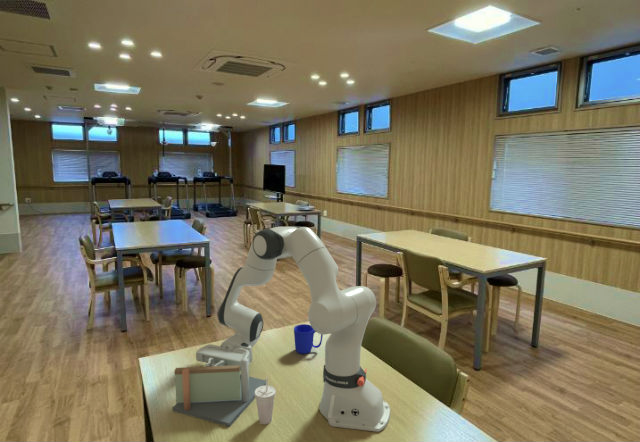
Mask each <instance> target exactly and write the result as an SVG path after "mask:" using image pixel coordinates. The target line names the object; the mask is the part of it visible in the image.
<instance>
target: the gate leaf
mask: <svg viewBox="0 0 640 442" xmlns="http://www.w3.org/2000/svg"><path fill="white" fill-rule="evenodd" d="M185 368H188V369H189V380H190V402H201V401H220V400H238V399H240V397H241V392H240V374H241V371H240V365H231V366H208V367H206V366H194V367H193V366H189V367H188V366H187V367H175V369H174V385H175V386H174V387H175V388H174V389H175V404H177V403H183V402H184V398H183V377H182V370H183V369H185Z"/></svg>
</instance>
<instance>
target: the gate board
mask: <svg viewBox="0 0 640 442" xmlns="http://www.w3.org/2000/svg"><path fill="white" fill-rule="evenodd" d="M249 365H250V364H249V363H248V358H243V359H241V371H240V392H241V397H240V399H238V400H220V401H201V402H190V380H189V369H188V368H186V367H184V368H185V369H183V370H182V377H183V398H184V402H183V403H175V404H174V405H173V406H172V411H173V412H176V413H180V414H182V415H186V416H190V417H193V418H197V419H200V420H204V421H208V422H211V423H213V424H218V425H220V426H225V427H228V428H230V427H231V426H232V425H233V424H234V423H235V422H236V420H238V418H240V416H241V414H243V412H244V411H246V409H247V408H248V406H249V405H251V403H252V402H253V401H254V400H256V398H255V396H254V394H255V390H256V389H257V388H258V387H260V386H264V385H266V379H262V378H258V377H252V376H250V375H249V367H250V366H249Z"/></svg>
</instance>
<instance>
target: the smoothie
mask: <svg viewBox="0 0 640 442" xmlns="http://www.w3.org/2000/svg"><path fill="white" fill-rule="evenodd" d="M265 380H266V385H264V386H260V387H258V388H257V389H256V390H255V394H254V396H255V401H256V406H257V407H256V408H257V413H258V421H259V423H260V424H261V425H268V424H270V423H271V422H272V419H273V410H274V404H275V397H276V396H277V395H276V392H277V391H276V390H277V389H276V388H275V387H274V386H272V385H269V381H268V377H265Z"/></svg>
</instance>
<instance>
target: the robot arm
mask: <svg viewBox="0 0 640 442" xmlns="http://www.w3.org/2000/svg"><path fill="white" fill-rule="evenodd" d="M291 257H292V258H293V260H294V262H295V263H296V265H297V267H298V269H299V270H300V272H301V275H302V276H303V277H304V280H305V282H306V283H307V286H308V288H309V291H310V292H309V293H310V298H311V300H310V305H309V309H308V312H307V313H308V314H307V317H308V322H309V325H311V327H312V328H313V329H314V330H315V331H316V332H315V333H317V334H319V335H321V334H322V335H323V336H324V335H329V336H328V337H327V340H326V341H325V347H324V351H325V352H324V353H325V354H324V365H323V371H322V372H323V373H322V378H323V379H322V380H323V388H322V389H323V390H322V396H321V399H320V402H319V406H318V407H319V408H318V409H319V412H320V413H321V415H322V416H323V417H324V418H326V420H327V423H328V425H329V426H331V427H334V428H344V429H352V430H361V431H368V432H370V431H371V432H381V431H383V430H385V428H386V427H387V425H388V423H389V421H390V417H391V407H390V405H389V404H388V402H387V401H384V397H383V395H382V394H383V393H382V391H381V390H380V389H379V387H377V386H375V385H374V384H373V383H372V382H371V381H369V379H367V370H368V369H367V368H364V369H363V368H362V367H361V353H362V352H361V350H362V343H363V339H364V336H365V335H364V334H365V333H366V329H367V326H368V323H369V321H370V318H371V316H372V314H373V313H374V311H375V310H376V307H377V299H376V295H375V293H374V292H373V291H372V289H370V288H369V287H367V286H363V285H359V286H358V285H355V286H350V287H347V288H344V289H341V290H340V288H339V286H338V283H337V277H338V275H339V272H340V271H339V265H338V264H337V263H336V261H335V260H334V258H333V256H332V255H331V253H330V252H329V250H328V249H327V247H326V245H325V243H324V242H323V241H322V240H321V238H320V237H319V236H318V235H317V233H315V232H314V230H312V229H311V228H310V227H307V226H300V225H299V226H298V225H292V226H283V225H282V226H275V227H271V228H264V229H261V230H259V231H257V232H256V233H255V234H254V236H253V238H252V242H251V245H250V247H249V249H248V253H247V257H246V260H245V263H244V265H243V266H241V267H239V268H237V270H236V272H235V273H234V274H233V276H232V279H231V281H230V283H229V286H228V288H227V291H226V292H225V295H224V299H223V301H222V302H221V304H220V306H219V308H218V310H217V314H216V316H217V319H218V322H219V324H221V325H223V326H225V327H229V328H231V329H233V330H236V332H235V333H234V334H233V335H231V336H229V337H228V338H226V340H224V341H222V343H221V344H220V345H215V344H211V343H210V344H209V343H208V344H205V346H202V347H200V348H198V349H197V350H196V351H195V359H196V362H201V363H205V367H208V366H231V365H240V372H241V359H243V358H248V363H249V365H250V363H252V362H253V347H254V346H256V344H257V342H258V341H259V340H260V338H261V333H262V331H263V328H264V324H265V323H264V319H263V315H262V313H260V312H258V311H256V310H255V309H252V308H249V307H247V306H246V305H242V304H241V303H239V302H238V298H239V296H240V294H241V291H242V289H243V287H246V286H247V287H259V286H263V285H265V284H267V283H268V282H270V281H271V280H272V278H273V276H274V274H275V270H276V267H277V266H276V265H277V260H279V259H287V258H291Z"/></svg>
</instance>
